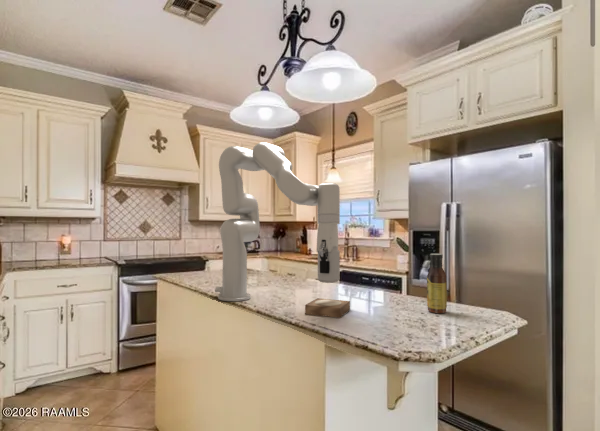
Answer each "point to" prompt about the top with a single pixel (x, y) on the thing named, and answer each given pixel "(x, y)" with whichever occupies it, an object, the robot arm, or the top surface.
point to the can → (331, 267)
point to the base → (327, 307)
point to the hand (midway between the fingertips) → (328, 271)
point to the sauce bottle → (436, 286)
